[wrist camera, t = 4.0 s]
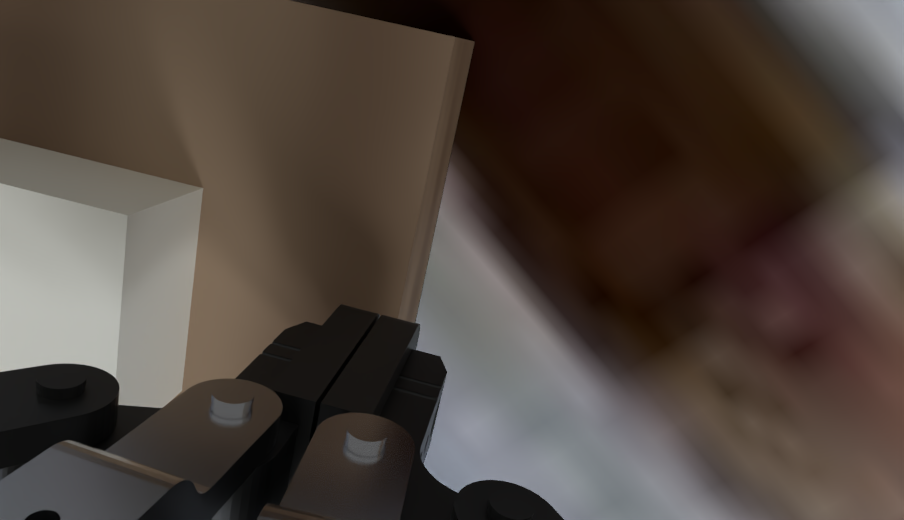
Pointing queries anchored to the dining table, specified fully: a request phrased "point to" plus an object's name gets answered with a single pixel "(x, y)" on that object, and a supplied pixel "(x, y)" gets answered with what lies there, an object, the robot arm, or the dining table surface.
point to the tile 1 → (96, 269)
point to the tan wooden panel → (254, 145)
